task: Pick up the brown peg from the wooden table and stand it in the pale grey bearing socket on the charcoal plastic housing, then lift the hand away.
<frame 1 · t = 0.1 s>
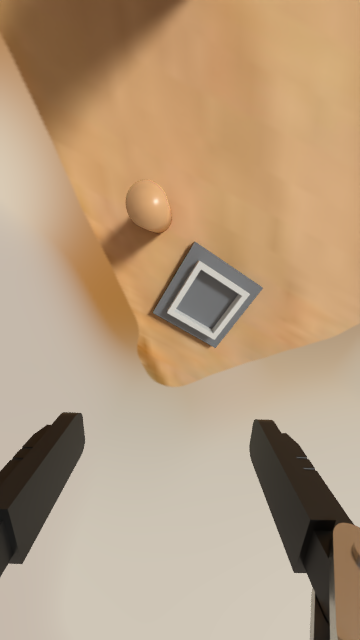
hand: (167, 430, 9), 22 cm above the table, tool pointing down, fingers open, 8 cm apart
brown peg: (157, 216, 25), on the table
housing: (205, 298, 29), on the table
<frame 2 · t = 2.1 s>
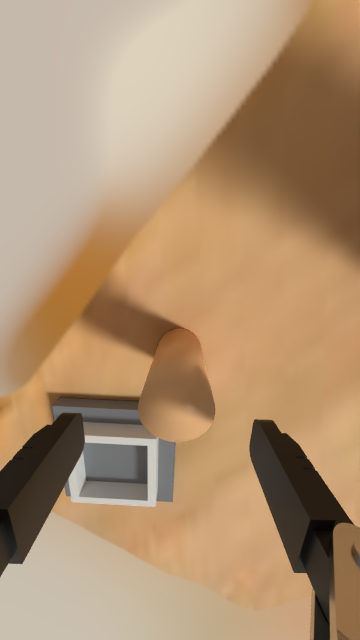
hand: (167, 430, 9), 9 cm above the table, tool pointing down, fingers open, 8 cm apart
brown peg: (179, 348, 17), on the table
housing: (120, 446, 20), on the table
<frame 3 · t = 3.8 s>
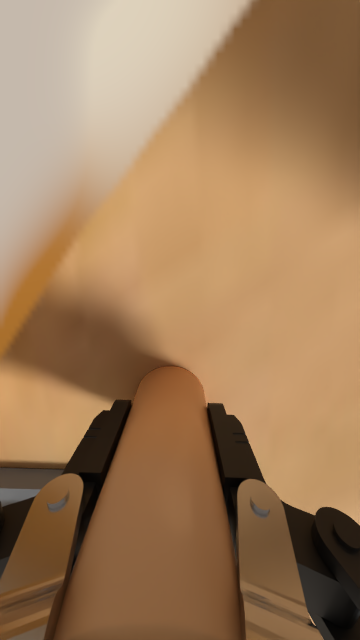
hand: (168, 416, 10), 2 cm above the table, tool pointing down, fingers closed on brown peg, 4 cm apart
brown peg: (170, 396, 11), on the table, touching gripper
housing: (86, 531, 14), on the table
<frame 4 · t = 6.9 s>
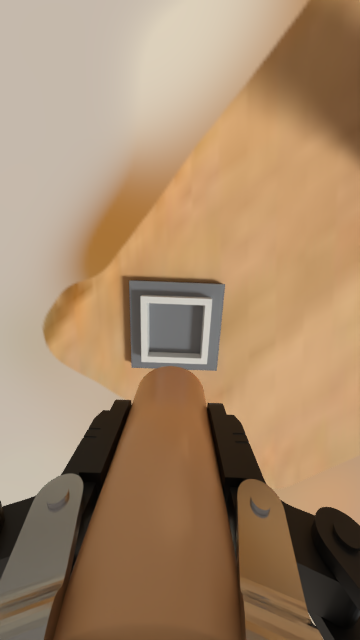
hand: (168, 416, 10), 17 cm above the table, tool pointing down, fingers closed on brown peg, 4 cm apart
brown peg: (170, 396, 11), point 15 cm above the table, touching gripper
housing: (175, 325, 26), on the table
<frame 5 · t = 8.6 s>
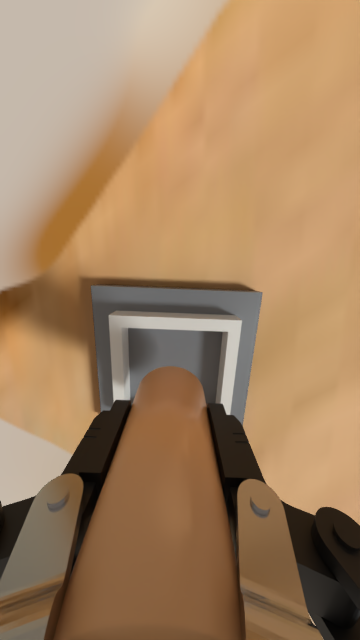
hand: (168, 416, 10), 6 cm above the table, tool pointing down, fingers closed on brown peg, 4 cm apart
brown peg: (170, 396, 11), point 5 cm above the table, touching gripper
housing: (174, 359, 16), on the table
when the fingers open (4 cm above the table, at t = 9.9 s): brown peg stays where it is, resting on housing.
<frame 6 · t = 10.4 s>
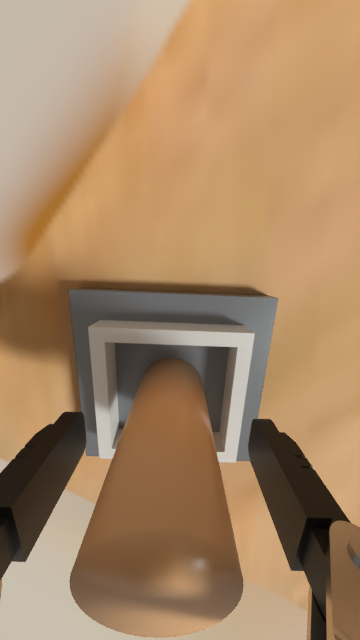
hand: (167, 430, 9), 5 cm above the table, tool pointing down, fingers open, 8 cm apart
brown peg: (171, 386, 12), point 1 cm above the table, touching housing
housing: (171, 376, 13), on the table
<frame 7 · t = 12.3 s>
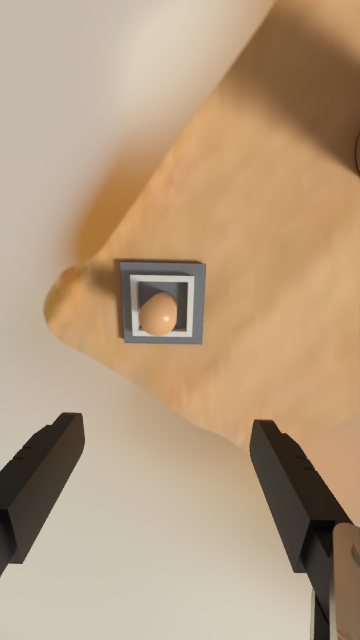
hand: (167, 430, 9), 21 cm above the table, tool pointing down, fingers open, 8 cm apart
brown peg: (163, 305, 27), point 1 cm above the table, touching housing
housing: (163, 304, 28), on the table
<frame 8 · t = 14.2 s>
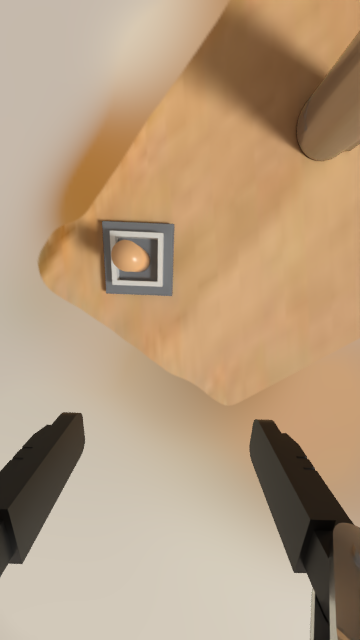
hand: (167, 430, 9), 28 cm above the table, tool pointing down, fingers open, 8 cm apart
brown peg: (138, 260, 32), point 1 cm above the table, touching housing
housing: (140, 260, 34), on the table
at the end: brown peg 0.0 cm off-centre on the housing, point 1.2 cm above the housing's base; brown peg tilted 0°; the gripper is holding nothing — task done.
